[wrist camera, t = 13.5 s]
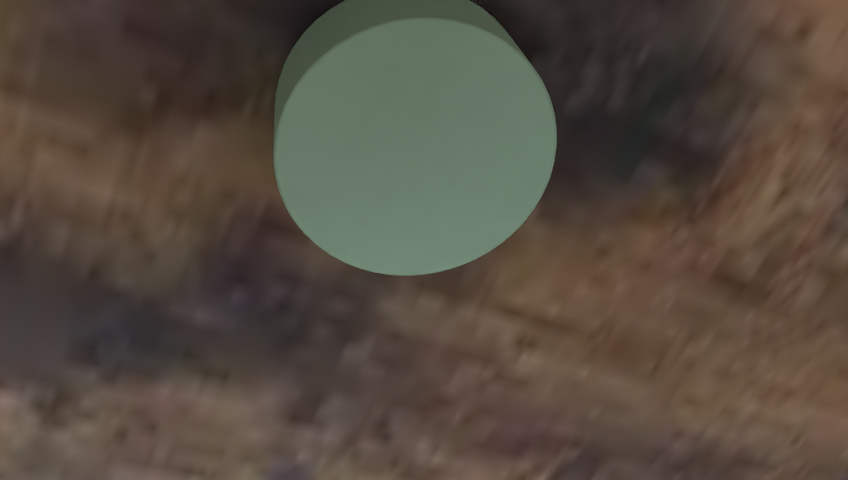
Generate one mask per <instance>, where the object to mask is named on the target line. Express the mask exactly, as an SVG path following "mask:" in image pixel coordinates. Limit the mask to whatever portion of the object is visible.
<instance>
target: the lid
mask: <svg viewBox="0 0 848 480" xmlns="http://www.w3.org/2000/svg"><path fill="white" fill-rule="evenodd" d="M556 147H557V127H556V120H555V113H554V109H553V106H552V102H551V99H550V96H549V94H548V92H547V89H546V87H545V85H544V83H543V81H542V79H541V78H540V76H539V75H538V73H537V72H536V70H535V69H534V67H533V66H532V65H531V63H530V62H529V61H528V59H527V58H526V57H525V55H524V54H523V53H522V51H521V50H520V49H519V47H518V46H517V45H516V43H515V42H514V41H513V39H512V38H511V37H510V35H509V34H508V33H507V31H506V30H505V29H504V28H503V27H502V26H501V25H500V23H499V22H498V21H497V20H496V19H495V18H494V17H493V16H491V15H490V14H489V13H488V12H487V11H485V10H484V9H483V8H482V7H480V6H478V5H477V4H475V3H473V2H472V1H470V0H345V1H343V2H341V3H340V4H338V5H336V6H335V7H333V8H331V9H330V10H328V11H327V12H326V13H325V14H323V15H322V16H321V17H320V18H318V19H317V20H316V21H315V22H314V23H313V24H312V25H311V26H310V27H309V28H308V29H307V30H306V31H305V32H304V33H303V34H302V36H301V37H300V39H299V40H298V41H297V43H296V44H295V45H294V47H293V48H292V50H291V52H290V54H289V56H288V58H287V60H286V62H285V64H284V66H283V69H282V72H281V75H280V77H279V81H278V86H277V90H276V95H275V111H274V144H273V161H274V173H275V177H276V181H277V186H278V190H279V192H280V195H281V197H282V200H283V202H284V205H285V207H286V208H287V210H288V212H289V213H290V215H291V217H292V219H293V220H294V221H295V223H296V224H297V225H298V226H299V228H300V229H301V230H302V231H303V233H304V234H305V235H307V236H308V237H309V238H310V239H311V240H312V241H313V242H314V243H315V244H316V245H317V246H319V247H320V248H321V249H323V250H324V251H326V252H327V253H328V254H330V255H332V256H333V257H335V258H337V259H339V260H341V261H342V262H345V263H347V264H350V265H352V266H355V267H357V268H360V269H364V270H367V271H371V272H375V273H382V274H388V275H404V276H409V275H424V274H430V273H436V272H441V271H445V270H448V269H452V268H455V267H458V266H461V265H463V264H466V263H468V262H471V261H473V260H475V259H477V258H479V257H480V256H482V255H484V254H486V253H488V252H489V251H491V250H492V249H494V248H495V247H497V246H498V245H500V244H501V243H502V242H504V241H505V240H506V239H507V238H508V237H509V236H511V235H512V234H513V233H514V232H515V231H516V230H517V229H518V228H519V227H520V226H521V225H522V224H523V223H524V222H525V220H526V219H527V218H528V216H529V215H530V214H531V212H532V211H533V210H534V208H535V207H536V205H537V203H538V202H539V200H540V198H541V197H542V195H543V193H544V191H545V188H546V186H547V184H548V181H549V179H550V176H551V172H552V168H553V165H554V161H555V154H556Z"/></svg>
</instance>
